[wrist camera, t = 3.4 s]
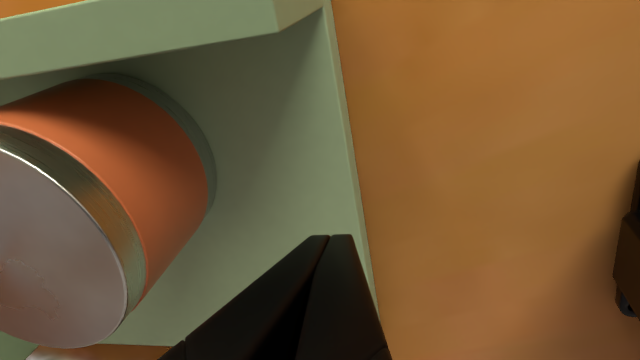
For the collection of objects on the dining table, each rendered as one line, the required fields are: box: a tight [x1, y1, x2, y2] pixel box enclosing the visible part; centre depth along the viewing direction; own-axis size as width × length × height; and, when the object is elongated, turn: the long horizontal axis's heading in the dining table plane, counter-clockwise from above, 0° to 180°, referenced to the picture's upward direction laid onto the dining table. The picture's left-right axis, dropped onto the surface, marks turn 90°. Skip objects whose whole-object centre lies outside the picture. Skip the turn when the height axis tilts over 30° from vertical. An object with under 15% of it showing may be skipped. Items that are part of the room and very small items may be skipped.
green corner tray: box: [0, 0, 381, 360], centre depth 15 cm, size 19×15×6 cm
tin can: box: [0, 73, 217, 348], centre depth 13 cm, size 7×7×6 cm
